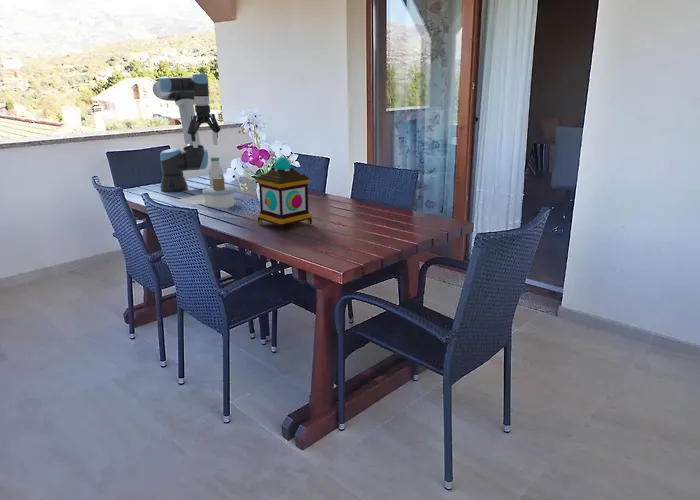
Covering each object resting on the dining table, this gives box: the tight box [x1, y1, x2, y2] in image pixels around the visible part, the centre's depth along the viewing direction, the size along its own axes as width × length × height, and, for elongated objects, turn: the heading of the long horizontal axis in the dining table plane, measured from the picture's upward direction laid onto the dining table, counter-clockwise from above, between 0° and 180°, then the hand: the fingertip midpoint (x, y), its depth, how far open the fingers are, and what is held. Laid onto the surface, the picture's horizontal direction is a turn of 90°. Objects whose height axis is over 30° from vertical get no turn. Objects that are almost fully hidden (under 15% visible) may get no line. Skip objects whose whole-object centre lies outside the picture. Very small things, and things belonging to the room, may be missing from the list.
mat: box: [173, 194, 206, 206], centre depth 270 cm, size 18×18×1 cm
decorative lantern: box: [255, 156, 313, 233], centre depth 220 cm, size 20×20×30 cm
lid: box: [201, 177, 237, 195], centre depth 256 cm, size 17×17×7 cm
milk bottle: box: [208, 156, 224, 188], centre depth 286 cm, size 8×8×20 cm
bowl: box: [204, 193, 235, 209], centre depth 259 cm, size 14×14×7 cm
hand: (205, 146), depth 269 cm, fingers open, 13 cm apart
